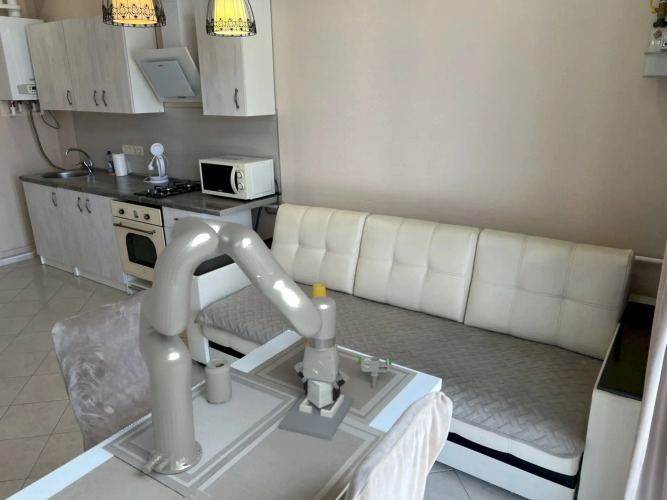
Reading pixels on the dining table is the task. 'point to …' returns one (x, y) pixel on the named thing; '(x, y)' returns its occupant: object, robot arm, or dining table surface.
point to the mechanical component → (374, 367)
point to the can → (218, 380)
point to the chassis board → (316, 417)
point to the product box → (320, 392)
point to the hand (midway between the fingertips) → (321, 395)
